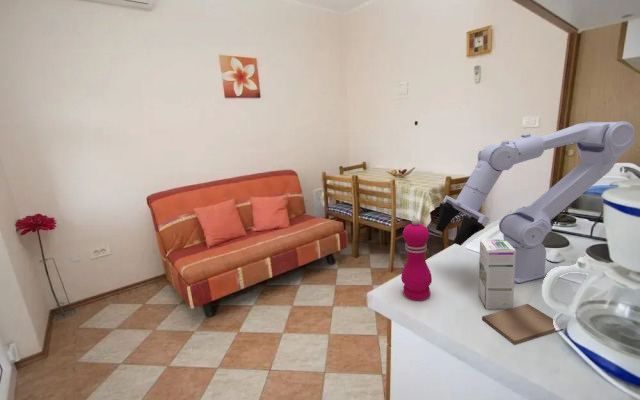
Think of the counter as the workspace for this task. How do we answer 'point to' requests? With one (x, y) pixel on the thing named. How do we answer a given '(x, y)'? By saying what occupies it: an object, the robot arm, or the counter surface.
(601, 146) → the robot arm
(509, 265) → the syrup box
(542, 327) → the walnut board
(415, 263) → the pepper mill
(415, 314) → the counter surface
